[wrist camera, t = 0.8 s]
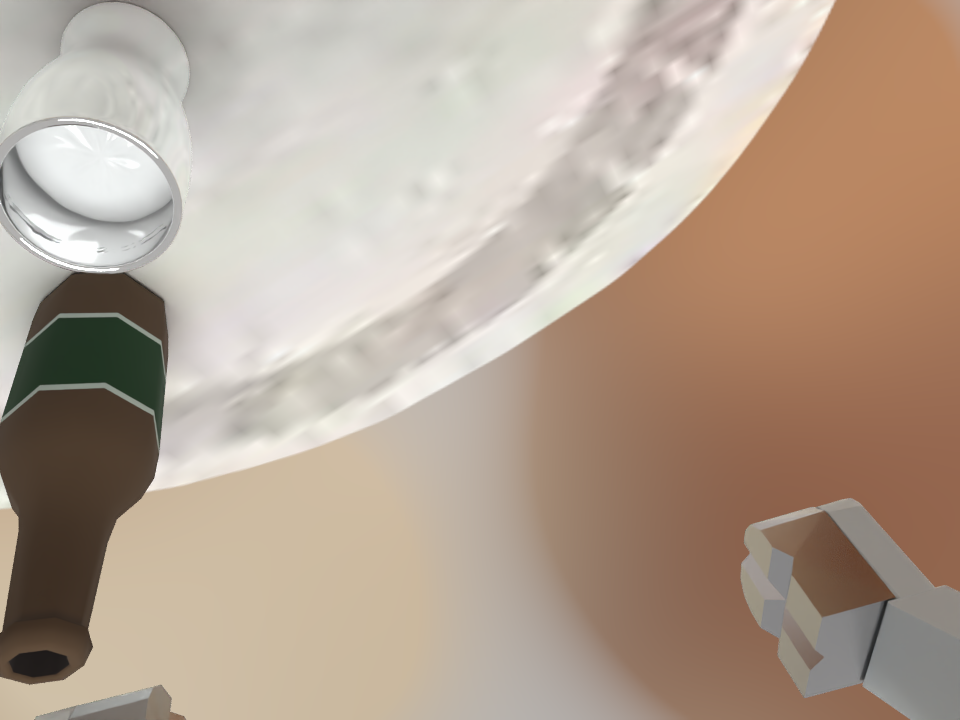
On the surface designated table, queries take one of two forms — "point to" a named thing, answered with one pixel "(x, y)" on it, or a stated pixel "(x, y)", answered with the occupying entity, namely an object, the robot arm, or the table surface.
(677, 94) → the table surface
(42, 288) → the table surface
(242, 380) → the table surface
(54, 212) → the beer glass
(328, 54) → the table surface
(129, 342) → the beer bottle
